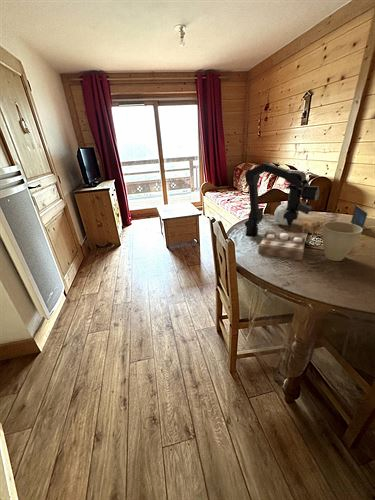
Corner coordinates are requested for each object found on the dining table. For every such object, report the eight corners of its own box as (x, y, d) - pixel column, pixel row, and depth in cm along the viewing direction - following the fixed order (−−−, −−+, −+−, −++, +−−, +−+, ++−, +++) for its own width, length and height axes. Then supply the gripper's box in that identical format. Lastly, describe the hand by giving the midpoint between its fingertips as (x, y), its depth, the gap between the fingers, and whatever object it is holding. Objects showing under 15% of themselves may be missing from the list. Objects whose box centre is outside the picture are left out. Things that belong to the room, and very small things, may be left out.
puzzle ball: (271, 226, 146) (273, 205, 139) (275, 220, 157) (278, 199, 151) (295, 229, 139) (299, 207, 132) (298, 222, 150) (302, 201, 143)
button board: (258, 253, 115) (258, 244, 112) (266, 237, 131) (267, 230, 129) (302, 260, 105) (303, 251, 103) (304, 242, 122) (306, 234, 120)
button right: (292, 245, 116) (293, 240, 114) (293, 242, 119) (294, 236, 118) (301, 247, 114) (302, 241, 112) (301, 243, 117) (302, 237, 116)
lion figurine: (323, 235, 128) (326, 220, 124) (319, 237, 126) (322, 223, 122) (299, 228, 139) (302, 215, 135) (295, 231, 137) (297, 217, 133)
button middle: (278, 241, 118) (279, 235, 117) (279, 238, 122) (280, 232, 120) (287, 242, 116) (288, 236, 115) (288, 239, 120) (289, 233, 118)
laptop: (329, 223, 144) (333, 204, 139) (351, 224, 141) (356, 204, 135) (336, 233, 129) (341, 212, 124) (361, 234, 125) (368, 213, 120)
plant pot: (338, 268, 96) (347, 235, 89) (309, 255, 109) (315, 225, 101) (360, 259, 101) (370, 228, 94) (330, 248, 113) (337, 219, 106)
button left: (265, 242, 122) (265, 236, 121) (266, 239, 126) (267, 233, 124) (273, 243, 120) (274, 237, 119) (274, 240, 124) (275, 234, 122)
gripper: (311, 204, 100) (304, 234, 107) (313, 194, 114) (307, 222, 121) (285, 202, 105) (280, 231, 112) (290, 193, 119) (285, 220, 126)
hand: (289, 226), depth 118 cm, fingers closed
